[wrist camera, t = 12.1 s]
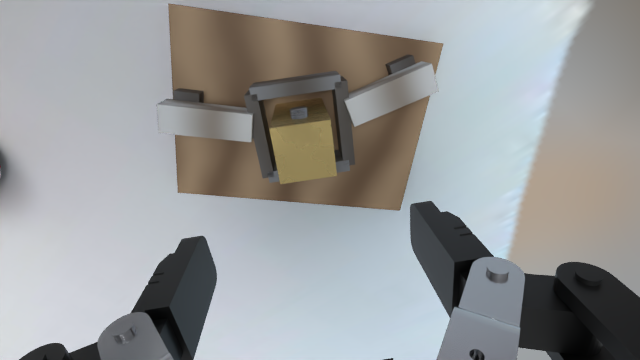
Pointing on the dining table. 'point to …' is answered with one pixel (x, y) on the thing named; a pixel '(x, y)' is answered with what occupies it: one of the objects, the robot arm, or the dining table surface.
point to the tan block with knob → (302, 141)
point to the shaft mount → (288, 86)
